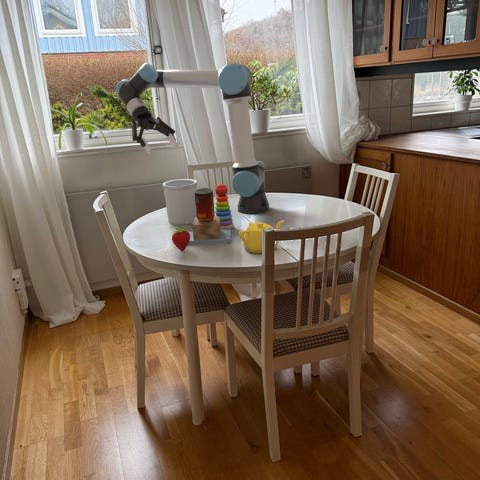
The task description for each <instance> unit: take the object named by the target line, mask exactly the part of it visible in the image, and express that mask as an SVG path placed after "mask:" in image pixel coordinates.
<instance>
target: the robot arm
mask: <svg viewBox="0 0 480 480" xmlns="http://www.w3.org/2000/svg"><path fill="white" fill-rule="evenodd" d="M252 84H253V75H252V72H251V69H250V68H248V66H246V65H243V64H240V63H239V62H231V63H227V64H225V65H224V66H222V67H220V69H156V68H155V67H154V66H152V64H150V63H148V62H145V63H143V64H142V65H141V66H140V67H139V68H138V69H137V71H136V72H135V73H134V74H133V75H132V77H130V79H129V80H128V79H122V80H121V81H119V82H118V83H116V86H115V92H116V93H117V95H118V97H119V99H120V100H121V102H122V103H123V104H124V106H125V108H126V109H127V111H128V113H129V114H130V116H131V117H132V119H131V122H130V126H131V136H132V137H131V138H132V141H133V142H136V143H138V144H140V146H141V147H142V148H143V149H144V150H145V152H146V153H147V155H150V154H151V152H152V148H151V146H150V144H149V143H148V141H147V139H146V138H145V136H144V137H143V134H144V131H148V130H151V131H152V130H153V131H157V132H158V133H160V134H162V135H164V136H166V137H167V140H168V141H169V143H170V145H171V146H172V148H173V149H174V150H175V151H177V149H178V148H179V146H180V145H179V143H178V142H177V139H176V137H175V136H174V135H175V134H176V130H175V129H174V128H172V127H171V126H169V125H168V124H167V123H166V122H164V121H163V120H162V119H161V118H160V116H157V117H156V118H153V116H152V113H151V110H149V108H148V107H147V105H146V103H145V102H144V101H143V99H142V97H141V96H142V95H143V94H144V93H145V92H146V91H147V90H148V89H150V88H153V89H154V88H156V89H160V88H161V89H164V88H165V89H166V88H170V89H171V88H177V89H187V88H188V89H219V90H221V93H222V100H223V101H224V103H226V106H227V110H228V120H229V126H230V134H231V142H232V150H233V157H234V163H233V164H232V167H231V169H232V170H231V171H232V176H233V177H232V180H231V186H232V189H233V191H234V192H235V193H236V194H237V195H238V196H239V199H238V203H237V211H238V212H239V213H241V214H242V213H243V214H261V213H265V212H268V211H269V210H270V202H269V200H268V197H267V195H266V180H265V178H266V177H265V169H266V167H265V163H264V162H263V161H261V160H260V161H259V160H256V159H255V151H254V143H253V134H252V133H253V132H252V124H251V115H250V108H249V101H250V99H251V98H252V92H251V86H252ZM137 127H140V129H139V133H138V128H137Z"/></svg>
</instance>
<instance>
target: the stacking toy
mask: <svg viewBox="0 0 480 480" xmlns="http://www.w3.org/2000/svg"><path fill="white" fill-rule="evenodd" d="M214 191H215V192H214V193H215V194H216V196H215V200H216V201H215V206H214V209H215V216H214V217H216V216H220V223H221V230H230V229H231V230H232V229H233V228H234V226H235V225H234V223H233V222H234V219H233V214H232V210H231V206H230V202H229V200H228V199H229V196H228V195H227V194H228V192H229V191H228V187H227V186H226V184H224V183H219V184H217V185H216V186H215V189H214Z"/></svg>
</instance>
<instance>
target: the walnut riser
mask: <svg viewBox="0 0 480 480" xmlns="http://www.w3.org/2000/svg"><path fill="white" fill-rule="evenodd" d="M215 216H216V215H215ZM215 216H214V219H213V221H212V222H208V223H201V222H199V220H198V219H197V217H195V219H194V222H193V223H192V225H191V226H192V231H193V238H194V240H206V239H220V234H221V223H220V216H216V217H215Z"/></svg>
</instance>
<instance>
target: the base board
mask: <svg viewBox="0 0 480 480" xmlns="http://www.w3.org/2000/svg"><path fill="white" fill-rule="evenodd" d="M187 231H188V230H187ZM188 232H189V233H190V241H189V243H188V245H187V246H193V245H197V246H198V245H215V244H216V245H217V244H231V242H232V229H229V230H221V234H220V239H206V240H194V238H193V230H190V231H188Z"/></svg>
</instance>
